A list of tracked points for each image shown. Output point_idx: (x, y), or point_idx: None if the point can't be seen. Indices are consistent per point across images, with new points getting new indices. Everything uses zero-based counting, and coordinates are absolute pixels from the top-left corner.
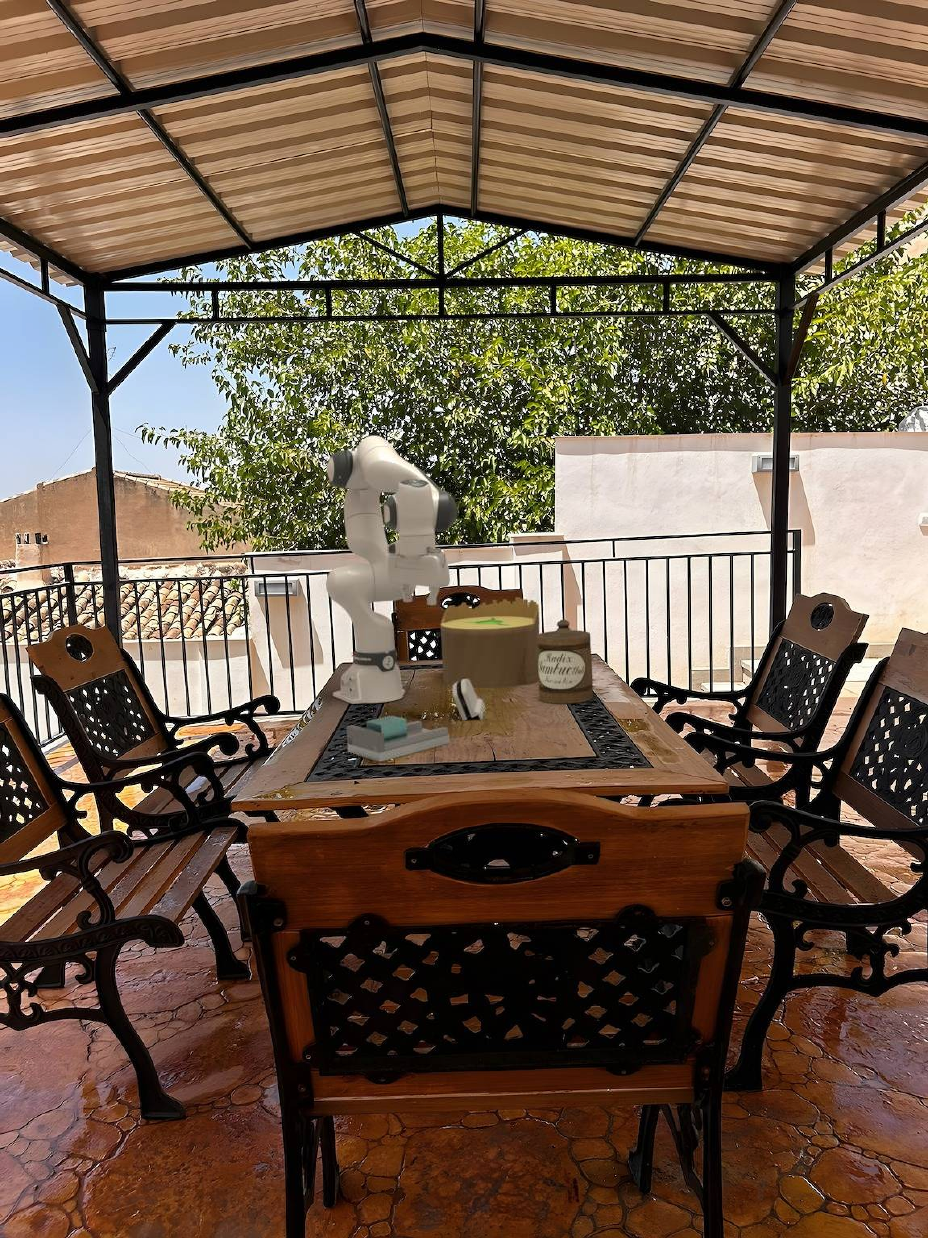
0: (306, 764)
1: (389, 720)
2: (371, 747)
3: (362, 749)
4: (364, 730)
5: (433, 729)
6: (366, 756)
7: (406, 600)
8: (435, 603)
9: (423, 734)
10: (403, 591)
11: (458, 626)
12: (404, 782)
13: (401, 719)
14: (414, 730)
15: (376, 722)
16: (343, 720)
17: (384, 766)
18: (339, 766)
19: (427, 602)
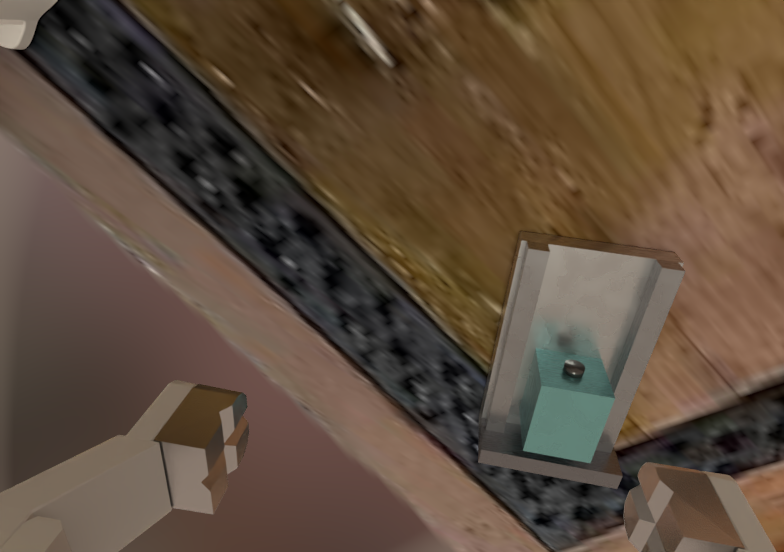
0: (470, 494)
1: (577, 425)
2: None
3: None
4: (552, 472)
5: (649, 303)
6: None
7: (233, 458)
8: (727, 487)
9: (651, 351)
10: (122, 544)
11: None
12: None
13: (604, 405)
14: (546, 275)
15: (557, 449)
16: (207, 218)
17: (634, 452)
18: (541, 482)
19: (638, 540)
